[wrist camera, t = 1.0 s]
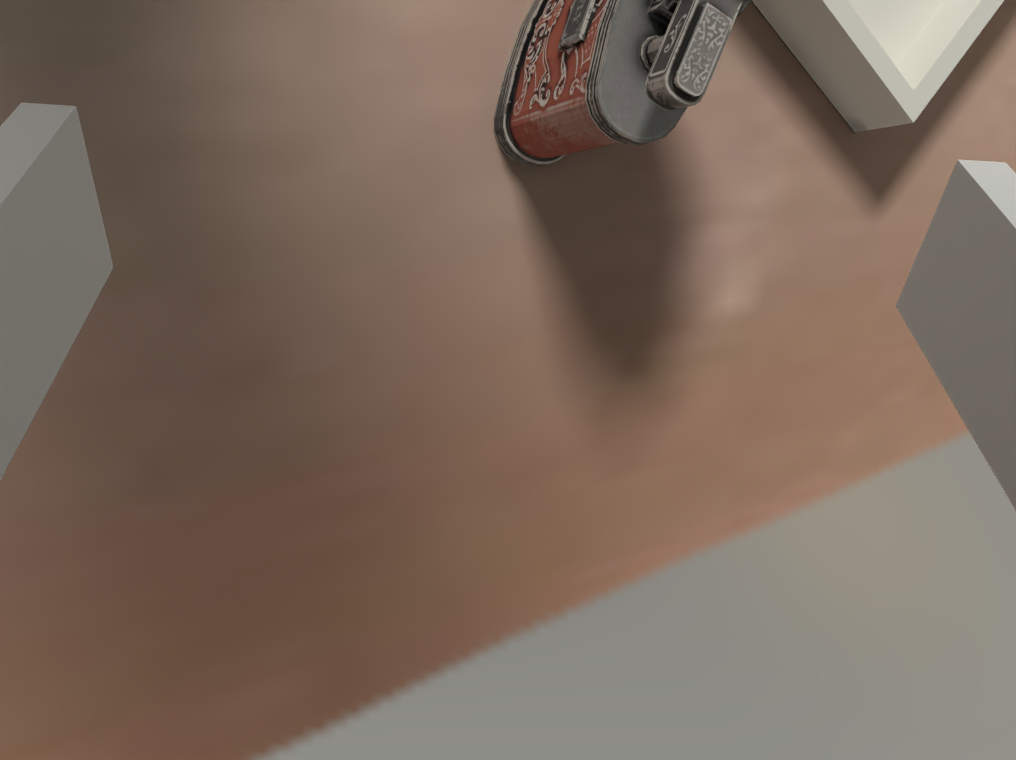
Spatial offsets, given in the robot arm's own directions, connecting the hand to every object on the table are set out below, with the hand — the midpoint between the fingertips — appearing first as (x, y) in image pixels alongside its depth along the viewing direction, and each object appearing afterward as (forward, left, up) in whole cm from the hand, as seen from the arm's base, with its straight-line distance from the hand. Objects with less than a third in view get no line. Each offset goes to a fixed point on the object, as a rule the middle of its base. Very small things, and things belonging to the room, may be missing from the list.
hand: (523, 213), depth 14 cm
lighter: (+2, +10, -17) cm, 20 cm away
